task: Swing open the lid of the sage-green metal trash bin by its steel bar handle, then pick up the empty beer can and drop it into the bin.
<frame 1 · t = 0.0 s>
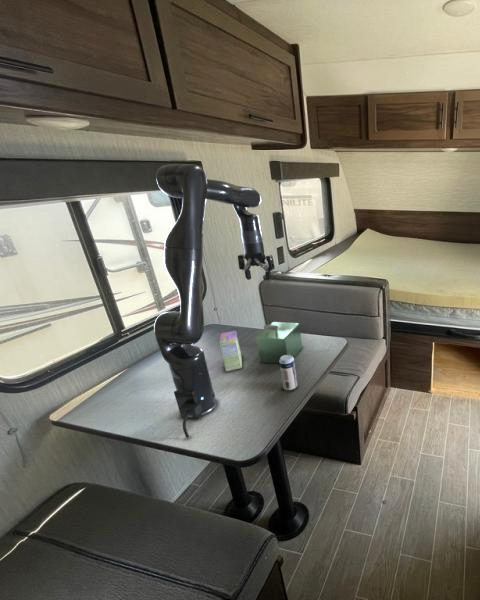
hand: (258, 279, 134), 29 cm above the table, tool pointing down, fingers open, 8 cm apart
trash bin: (282, 354, 134), on the table
beer can: (290, 387, 114), on the table
box: (234, 364, 128), on the table
bin lid: (277, 325, 129), point 13 cm above the table, hinge at 0.0°
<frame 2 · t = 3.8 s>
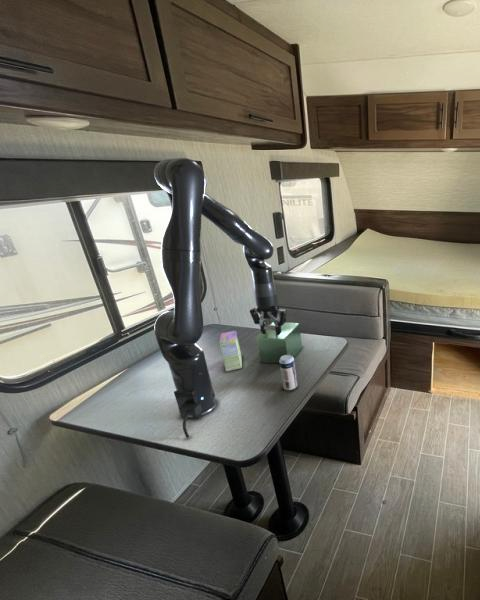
hand: (271, 333, 125), 13 cm above the table, tool pointing down, fingers closed on bin lid, 5 cm apart
bin lid: (277, 325, 129), point 13 cm above the table, hinge at 0.0°, touching gripper
everything else where it was.
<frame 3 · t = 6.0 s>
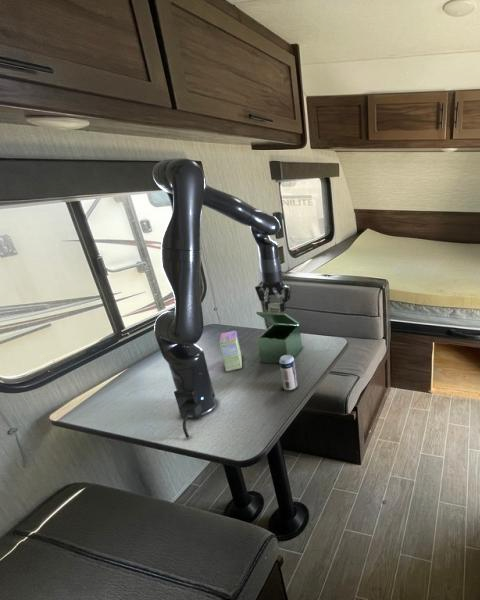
hand: (276, 310, 127), 20 cm above the table, tool pointing down, fingers closed on bin lid, 5 cm apart
bin lid: (279, 313, 131), point 18 cm above the table, hinge at 40.2°, touching gripper
everything else where it was.
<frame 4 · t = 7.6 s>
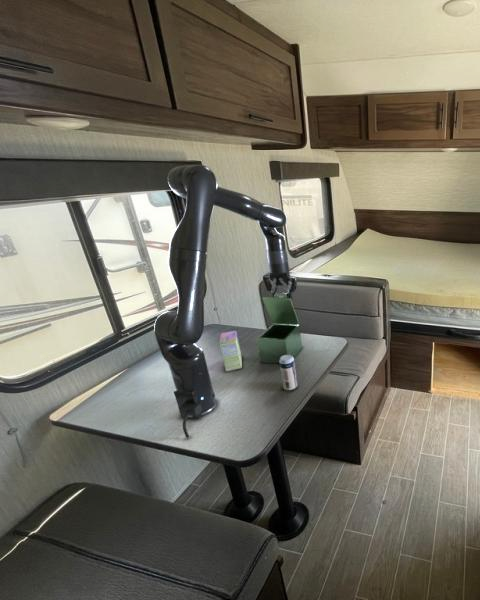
hand: (283, 300, 133), 22 cm above the table, tool pointing down, fingers closed on bin lid, 5 cm apart
bin lid: (283, 307, 133), point 19 cm above the table, hinge at 68.5°, touching gripper
everything else where it was.
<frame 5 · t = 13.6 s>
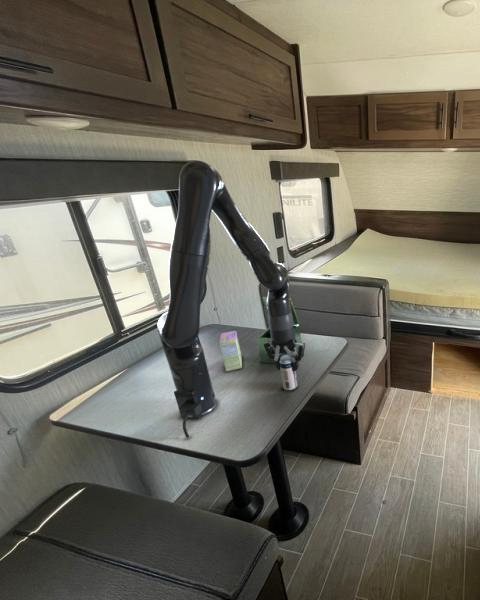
hand: (288, 369, 111), 7 cm above the table, tool pointing down, fingers closed on beer can, 4 cm apart
beer can: (290, 387, 114), on the table, touching gripper
bin lid: (283, 307, 133), point 19 cm above the table, hinge at 69.1°
everything else where it was.
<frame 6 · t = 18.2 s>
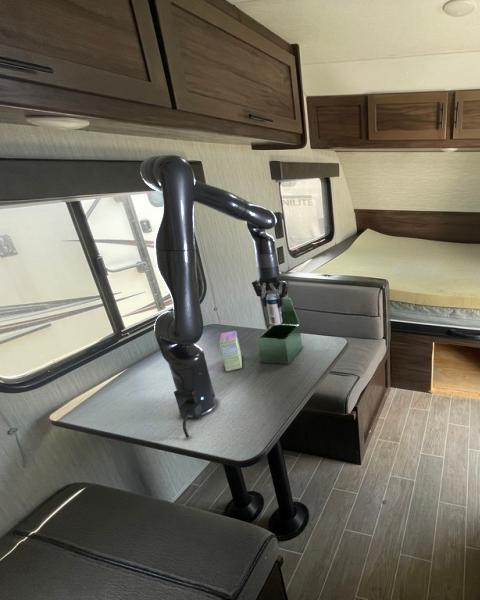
hand: (273, 306, 125), 22 cm above the table, tool pointing down, fingers closed on beer can, 4 cm apart
beer can: (276, 323, 128), point 15 cm above the table, touching gripper
bin lid: (283, 307, 133), point 19 cm above the table, hinge at 69.4°
everything else where it was.
when the fingers open (17 cm above the table, at t = 20.2 s): beer can drops 9 cm, resting on trash bin.
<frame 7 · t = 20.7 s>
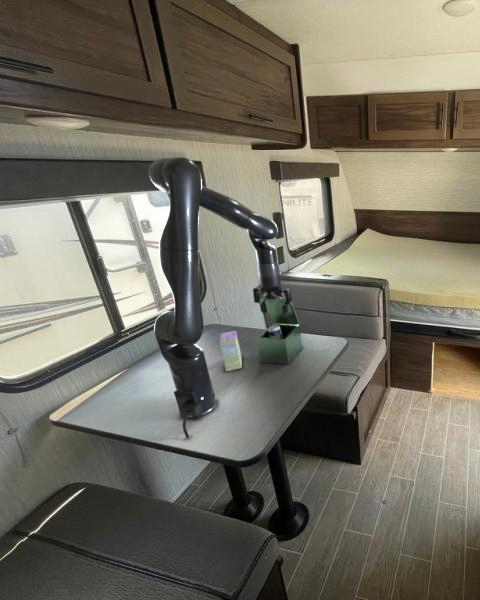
hand: (275, 313, 126), 19 cm above the table, tool pointing down, fingers open, 8 cm apart
beer can: (280, 353, 133), point 1 cm above the table, touching trash bin
everything else where it was.
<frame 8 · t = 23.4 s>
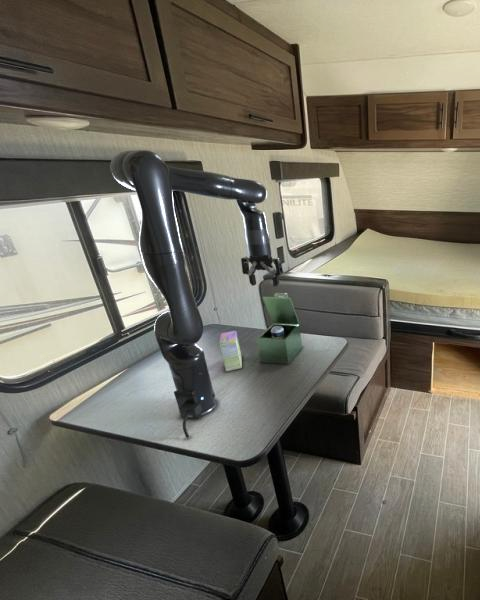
hand: (265, 285, 118), 32 cm above the table, tool pointing down, fingers open, 8 cm apart
at the end: bin lid at +69° (first picture: +0°); beer can inside the target area in the trash bin (1.1 cm from its centre), point 0.6 cm above the trash bin's base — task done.
